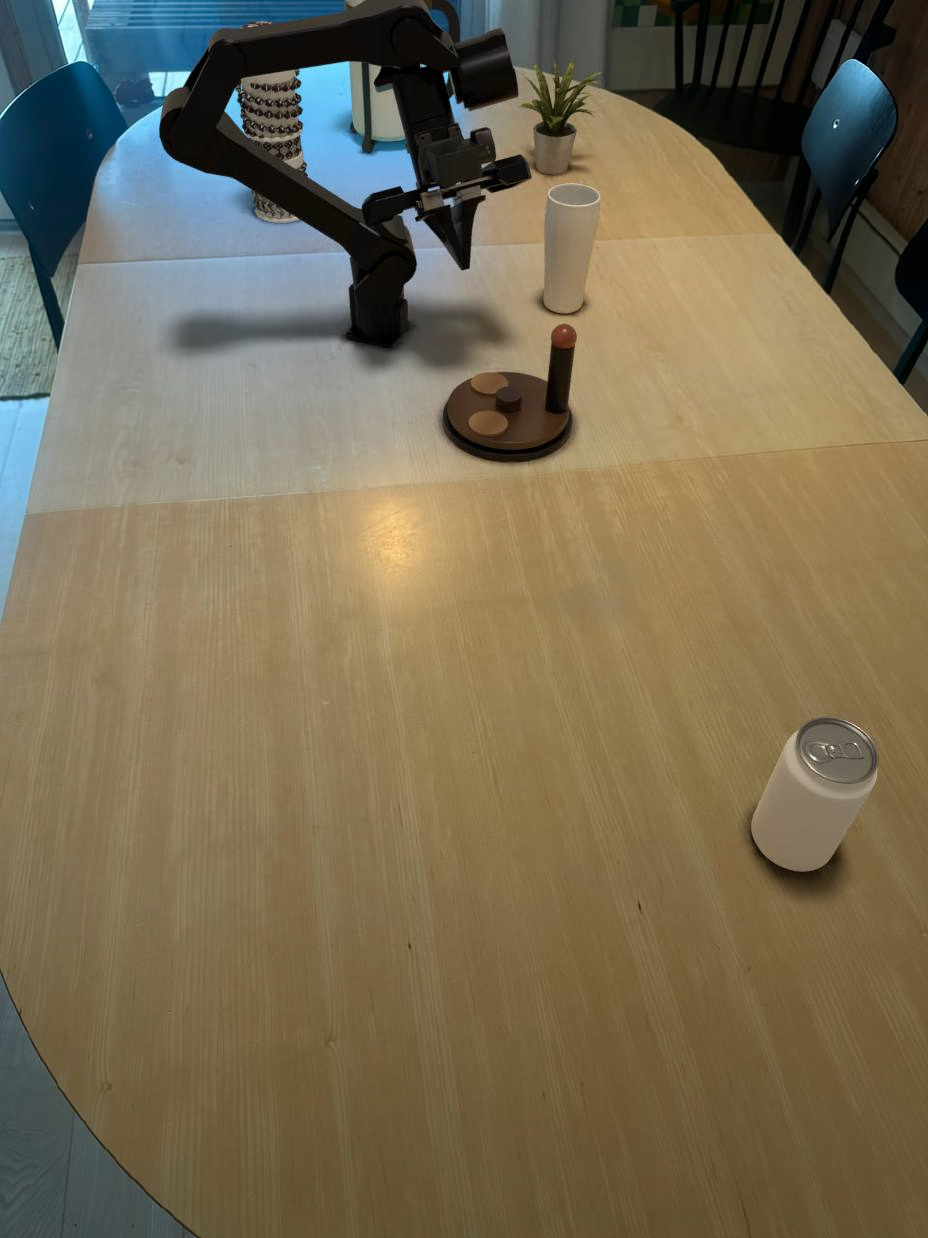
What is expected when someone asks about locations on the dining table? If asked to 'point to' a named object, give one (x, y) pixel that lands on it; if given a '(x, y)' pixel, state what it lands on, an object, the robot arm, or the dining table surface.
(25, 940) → the dining table surface
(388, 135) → the coffee press
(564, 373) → the turntable with crank handle
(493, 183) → the robot arm
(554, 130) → the house plant
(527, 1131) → the dining table surface
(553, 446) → the base
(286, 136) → the decorative candle
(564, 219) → the drinking glass
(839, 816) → the can
